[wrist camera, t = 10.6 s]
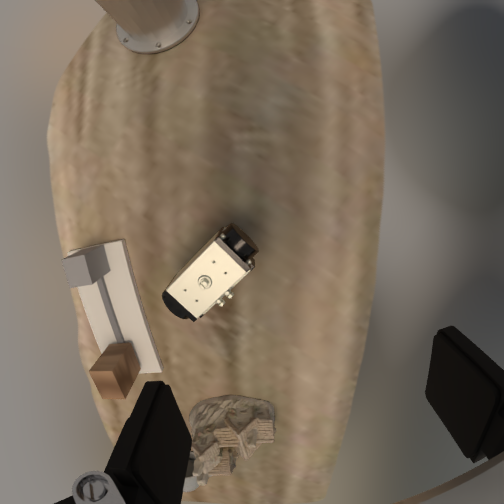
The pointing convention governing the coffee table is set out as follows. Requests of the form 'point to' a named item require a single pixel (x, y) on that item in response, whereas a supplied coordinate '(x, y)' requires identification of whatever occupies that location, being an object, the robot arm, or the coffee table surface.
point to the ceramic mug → (190, 475)
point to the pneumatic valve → (211, 274)
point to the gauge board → (112, 299)
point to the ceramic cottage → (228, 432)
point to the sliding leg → (115, 371)
